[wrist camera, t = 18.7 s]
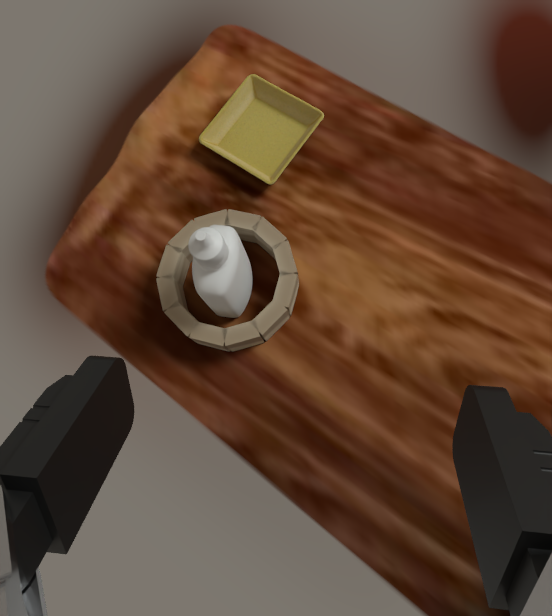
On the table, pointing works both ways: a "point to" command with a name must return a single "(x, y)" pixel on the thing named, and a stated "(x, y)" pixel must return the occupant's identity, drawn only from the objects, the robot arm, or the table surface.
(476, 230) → the table surface
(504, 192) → the table surface
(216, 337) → the birch ring collar
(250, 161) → the yellow square tray
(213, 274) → the eye dropper bottle
